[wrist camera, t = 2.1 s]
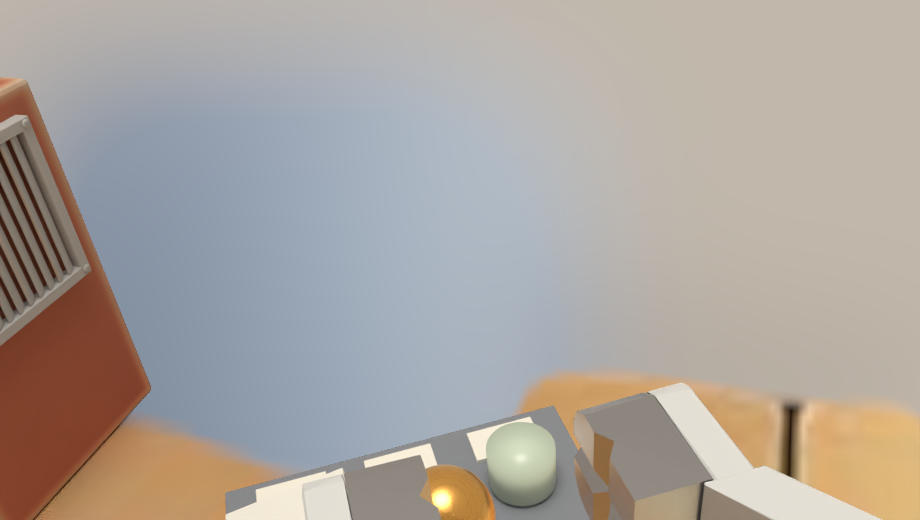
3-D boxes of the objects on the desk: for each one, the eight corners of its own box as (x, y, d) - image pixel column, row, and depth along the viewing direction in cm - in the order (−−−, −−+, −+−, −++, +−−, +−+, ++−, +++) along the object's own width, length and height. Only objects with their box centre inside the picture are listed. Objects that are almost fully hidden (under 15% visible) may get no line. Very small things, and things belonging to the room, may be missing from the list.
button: (566, 495, 34) (566, 463, 33) (500, 514, 34) (498, 482, 33) (542, 446, 37) (541, 414, 36) (480, 463, 36) (477, 432, 35)
